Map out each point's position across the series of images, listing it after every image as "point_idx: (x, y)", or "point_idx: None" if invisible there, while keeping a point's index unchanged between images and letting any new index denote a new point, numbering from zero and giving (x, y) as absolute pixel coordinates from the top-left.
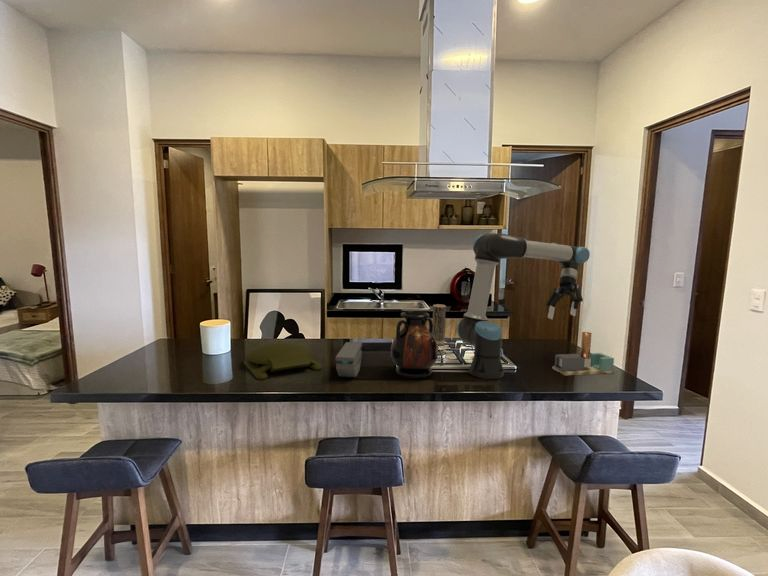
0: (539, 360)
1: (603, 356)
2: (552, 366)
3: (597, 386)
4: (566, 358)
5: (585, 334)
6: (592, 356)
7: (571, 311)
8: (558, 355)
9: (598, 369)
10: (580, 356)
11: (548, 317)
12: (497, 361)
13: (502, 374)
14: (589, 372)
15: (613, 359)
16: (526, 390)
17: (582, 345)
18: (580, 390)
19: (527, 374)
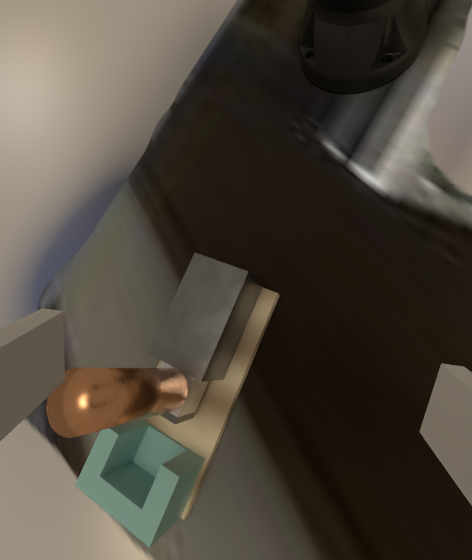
0: (397, 350)
1: (121, 489)
2: (277, 293)
3: (104, 272)
4: (188, 266)
5: (75, 368)
6: (166, 464)
7: (19, 323)
8: (231, 270)
9: (151, 425)
10: (166, 350)
11: (451, 369)
12: (309, 3)
13: (304, 67)
14: (160, 361)
15: (80, 481)
16: (198, 81)
17: (139, 369)
18: (119, 203)
19: (282, 162)
